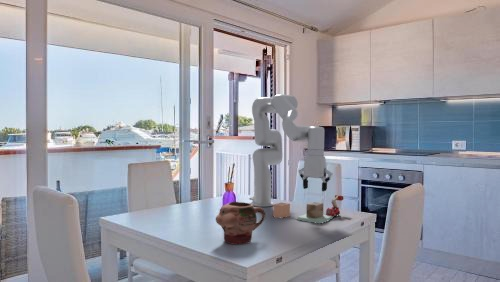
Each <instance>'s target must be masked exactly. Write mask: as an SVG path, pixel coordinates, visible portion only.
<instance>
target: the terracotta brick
mask: <svg viewBox="0 0 500 282" xmlns="http://www.w3.org/2000/svg"><path fill="white" fill-rule="evenodd" d="M272 207H273V208H272V209H273V211H272V212H273V213H272V215H273V216H275V217H274V218H277V217H281V218H280V219H284V218H283V217H285V218H287V217H286V216H288V217H290V216H291V204H290V203H288V202H287V203H286V202H277V203H274V205H273V206H272ZM289 215H290V216H289ZM273 216H272V217H273Z"/></svg>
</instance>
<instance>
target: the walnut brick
mask: <svg viewBox="0 0 500 282" xmlns="http://www.w3.org/2000/svg"><path fill="white" fill-rule="evenodd" d="M306 214H307V216H306V217H310V218H319V217H322V216H323V215H324V202H316V201H312V202H309V203H306Z"/></svg>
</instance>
